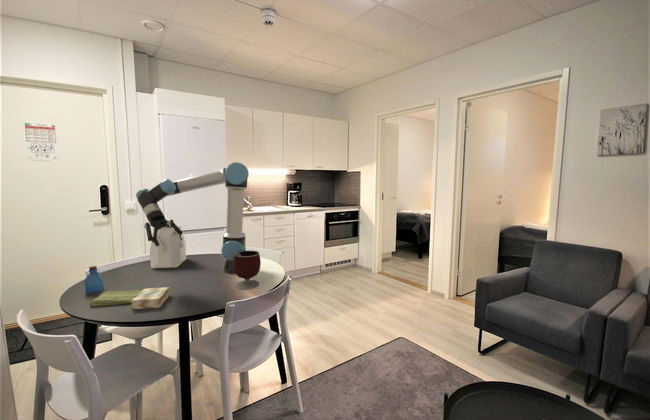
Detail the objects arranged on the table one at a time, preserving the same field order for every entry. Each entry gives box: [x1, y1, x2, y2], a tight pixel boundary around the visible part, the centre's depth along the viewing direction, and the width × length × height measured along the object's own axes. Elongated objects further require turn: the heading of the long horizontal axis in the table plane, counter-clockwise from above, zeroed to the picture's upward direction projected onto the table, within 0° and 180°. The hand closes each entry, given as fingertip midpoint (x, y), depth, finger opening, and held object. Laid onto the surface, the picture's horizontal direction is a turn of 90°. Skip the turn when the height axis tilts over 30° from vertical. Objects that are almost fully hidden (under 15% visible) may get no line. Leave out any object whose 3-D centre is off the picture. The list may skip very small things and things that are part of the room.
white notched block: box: [149, 225, 187, 269], centre depth 200 cm, size 19×15×25 cm
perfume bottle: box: [84, 265, 104, 294], centre depth 153 cm, size 6×6×12 cm
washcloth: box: [89, 289, 142, 307], centre depth 142 cm, size 13×18×3 cm
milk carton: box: [157, 227, 182, 268], centre depth 152 cm, size 7×7×19 cm
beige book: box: [131, 286, 171, 310], centre depth 139 cm, size 11×14×4 cm
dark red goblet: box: [231, 250, 262, 290], centre depth 159 cm, size 16×14×20 cm
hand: (172, 248), depth 151 cm, fingers closed on milk carton, 9 cm apart
